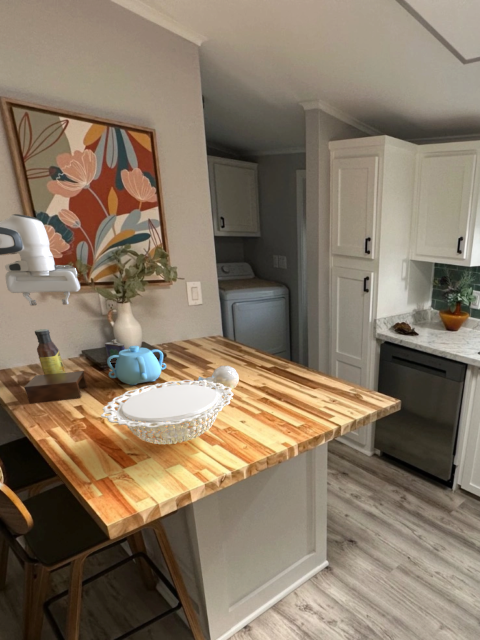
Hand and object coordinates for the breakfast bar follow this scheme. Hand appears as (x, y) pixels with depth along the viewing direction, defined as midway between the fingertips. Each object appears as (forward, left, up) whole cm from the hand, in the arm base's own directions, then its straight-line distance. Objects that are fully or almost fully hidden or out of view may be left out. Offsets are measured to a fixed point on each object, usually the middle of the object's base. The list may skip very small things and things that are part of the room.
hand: (49, 304), depth 148 cm
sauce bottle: (-3, -3, -28) cm, 29 cm away
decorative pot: (+25, -11, -28) cm, 39 cm away
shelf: (+1, -18, -28) cm, 34 cm away
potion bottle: (+52, -34, -28) cm, 68 cm away
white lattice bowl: (+39, -69, -28) cm, 84 cm away
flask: (+15, +14, -28) cm, 35 cm away
